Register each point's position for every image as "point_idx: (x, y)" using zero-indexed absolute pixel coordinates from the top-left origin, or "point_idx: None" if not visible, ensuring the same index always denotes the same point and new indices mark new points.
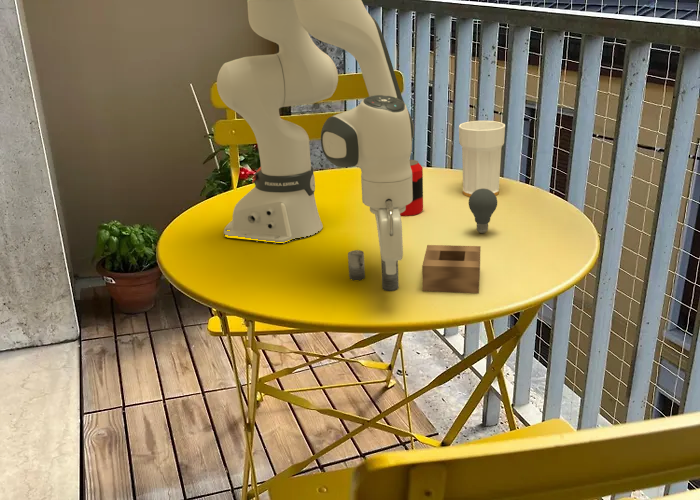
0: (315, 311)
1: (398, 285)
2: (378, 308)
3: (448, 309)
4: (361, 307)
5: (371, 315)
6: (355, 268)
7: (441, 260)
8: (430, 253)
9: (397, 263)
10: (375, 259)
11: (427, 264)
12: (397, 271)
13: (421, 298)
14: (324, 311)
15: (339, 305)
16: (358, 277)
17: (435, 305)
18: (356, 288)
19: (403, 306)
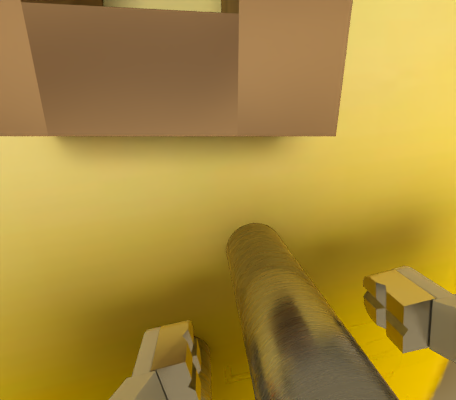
0: (392, 385)
1: (257, 226)
2: (394, 255)
3: (432, 16)
4: None
5: (432, 264)
6: (211, 396)
7: None
8: (107, 93)
9: (295, 281)
10: (17, 340)
11: (317, 100)
12: (285, 257)
13: (336, 132)
14: (394, 369)
15: (366, 349)
16: (208, 355)
17: (395, 73)
18: None
19: (390, 186)
